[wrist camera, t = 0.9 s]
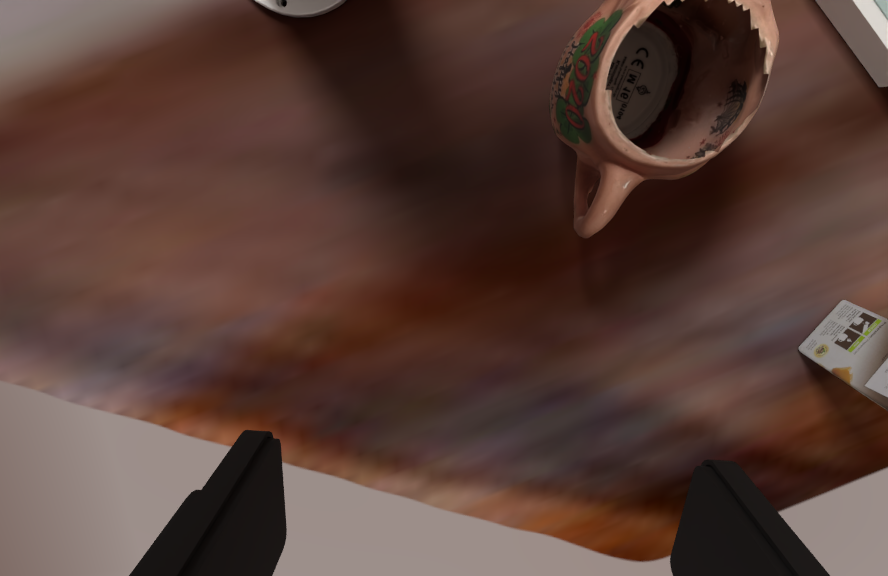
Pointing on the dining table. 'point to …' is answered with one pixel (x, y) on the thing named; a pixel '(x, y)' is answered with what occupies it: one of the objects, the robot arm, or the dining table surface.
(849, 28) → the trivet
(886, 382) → the coffee box
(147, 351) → the dining table surface
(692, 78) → the decorative planter
